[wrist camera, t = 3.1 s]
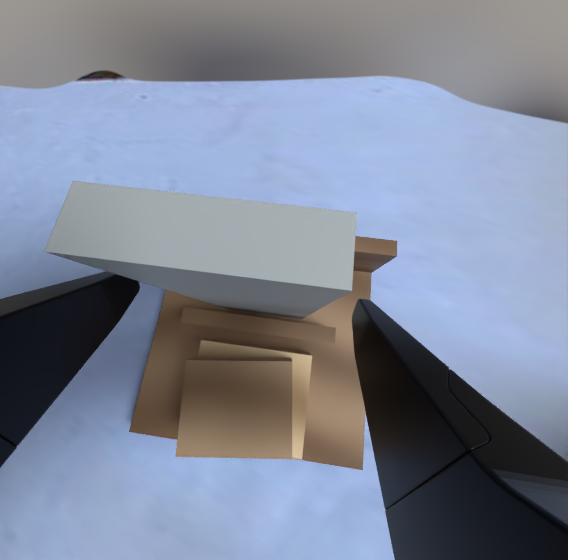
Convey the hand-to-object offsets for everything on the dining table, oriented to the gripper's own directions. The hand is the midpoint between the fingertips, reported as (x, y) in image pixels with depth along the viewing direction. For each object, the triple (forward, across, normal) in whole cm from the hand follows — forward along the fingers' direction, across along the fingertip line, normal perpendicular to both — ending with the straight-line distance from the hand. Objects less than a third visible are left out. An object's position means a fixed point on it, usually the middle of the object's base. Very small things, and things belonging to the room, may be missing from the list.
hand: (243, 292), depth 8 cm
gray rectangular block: (+6, 0, +5) cm, 8 cm away
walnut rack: (+5, 0, +8) cm, 9 cm away
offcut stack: (+2, 0, +10) cm, 10 cm away
